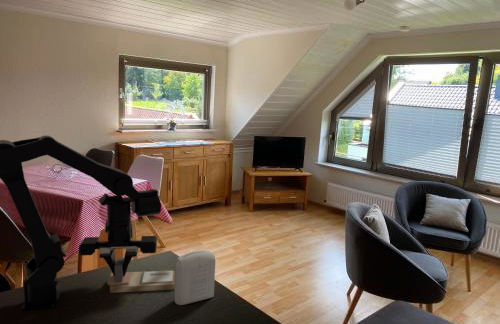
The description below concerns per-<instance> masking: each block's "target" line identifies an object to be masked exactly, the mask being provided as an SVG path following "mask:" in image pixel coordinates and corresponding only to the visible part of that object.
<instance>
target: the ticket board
mask: <svg viewBox="0 0 500 324" xmlns="http://www.w3.org/2000/svg"><path fill="white" fill-rule="evenodd" d="M130 272H131V277H130V282H129V284H120V285H109V293H110V294H115V293H129V292H130V293H131V292H134V293H135V292H149V291H150V292H151V291H152V292H153V291H169V290H170V291H172V290H174V291H175V269H174V270H153V271H151V270H150V271H149V270H148V271H130Z"/></svg>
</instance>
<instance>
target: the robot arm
mask: <svg viewBox="0 0 500 324" xmlns="http://www.w3.org/2000/svg"><path fill="white" fill-rule="evenodd" d="M44 156H49V157H51V158H52V159H55V160H57V161H59V162H60V163H63V164H64V165H66V166H69V167H70V168H72V169H74V170H76V171H78V172H79V173H80V172H81V173H82V174H85V175H86V176H88V177H90V178H92V179H94V180H95V181H97V182H98V183H99V184H100V185H102V186H103V187H104V188H106V189H107V190H108V191H109V192H110V193H112V194H113V195H108V194H107V193H106V192H104V193H103V195H102V196H101V197H100V198H99V199H98V202H99V204H100V205H101V206H106V214H107V215H106V216H107V219H106V221H105V226H104V229H105V230H104V232H105V233H106V234H107V241H106V240H105V241H103V240H102V241H101V239H100V236H89V237H86V236H85V237H84V238H83V239H82V240H81V241H80V244H79V245H78V256H80V257H81V256H92V255H94V254H95V253H96V250H99V258H100V259H101V258H102V259H103V260H104V261H105V262H106V264H107V265H108V267H109V269H110V271H111V273H113V275H114V277H115V264H116V261H117V259H116V249H117V250H118V249H121V250H122V249H125V253H124V257H123V258H124V266H123V276H125V274H126V272H128V271H127V270H128V267H129V264H130V263H131V260H132V258H135V257H137V255H138V252H141V253H142V254H155V253H157V247H158V238H157V236H156V235H141V239H139V240H137V239H136V240H135V239H133V224H132V216H131V215H132V214H134V215H135V216H136V217H138V218H141V217H146V216H147V217H149V216H155V215H160V214H161V211H162V203H161V199H160V196H159V191H158V189H156V188H152V189H148V190H138V189H136V188H135V187H134V181H133V178H132V176H130V175H129V174H128V173H126V172H125V171H123V170H122V169H119V168H116V167H114V166H109V165H105V164H103V163H100V162H98V161H96V160H94V159H92V158H90V157H88V156H86V155H85V154H82V153H81V152H78V151H77V150H75V149H73V148H71V147H69V146H67V145H65V144H63V143H61V142H59V141H58V140H56V139H55V138H54V137H52V136H50V135H41V136H40V137H35V138H28V139H21V140H15V141H11V140H6V139H1V140H0V180H1V181H2V182H3V184H4V185H5V187H6V188H7V190H8V192H9V194H10V196H11V199H12V202H13V204H14V206H15V208H16V211H17V212H18V215H19V217H20V219H21V222H22V224H23V226H24V228H25V231H26V233H27V235H28V237H29V240H30V242H31V247H32V253H33V257H31V258H30V260H29V261H27V262H26V264H24V271H25V277H26V278H25V279H24V280H23V297H24V299H23V300H24V304H23V305H22V306H21V311H28V310H29V311H30V310H31V311H32V310H44V309H47V310H48V309H49V310H50V309H52V308H53V307H54V305H55V303H56V302H57V301H58V299H59V298H60V295H61V294H60V290H61V289H60V281H59V280H57V279H58V277H57V274H58V273H59V272H61V270H63V267H64V266H65V259H64V258H66V257H67V254H66V252H65V250H64V247H63V245H62V244H61V240H60V237H59V236H58V234H57V233H54V234H52V235H51V234H50V233H49V232H48V231H47V228H46V226H45V224H44V222H43V219H42V217H41V215H40V212H39V210H38V207H37V206H36V203H35V201H34V200H35V199H34V198H33V196H32V193H31V191H30V188H29V186H28V184H27V182H26V179H25V174H24V169H23V163H26V162H29V161H32V160H34V159H38V158H40V157H44ZM123 196H126V197H123ZM132 239H133V240H132Z"/></svg>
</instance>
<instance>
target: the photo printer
mask: <svg viewBox="0 0 500 324" xmlns="http://www.w3.org/2000/svg"><path fill="white" fill-rule="evenodd" d="M174 267H175V268H174V270H175V278H174V303H175V304H176V305H178V306H183V305H188V304H193V303H196V302H199V301H204V300H207V299H210V298H213V297H214V296H215V280H216V279H215V277H216V275H215V274H216V257H215V253H214V252H212V251H211V250H195V251H190V252H188V253H185V254H182V255H180V256H179V257H177V258H176V259H175V266H174Z"/></svg>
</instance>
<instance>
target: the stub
mask: <svg viewBox="0 0 500 324" xmlns="http://www.w3.org/2000/svg"><path fill="white" fill-rule="evenodd" d="M123 266H124V257H117V258H116V264H115V277H114V275H113V273H112V272H111V273H110V275H109V279H108V281H107V286H110V285H120V284H129V282H130V277H131V272H132V271H126V274H125V276H123Z"/></svg>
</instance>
